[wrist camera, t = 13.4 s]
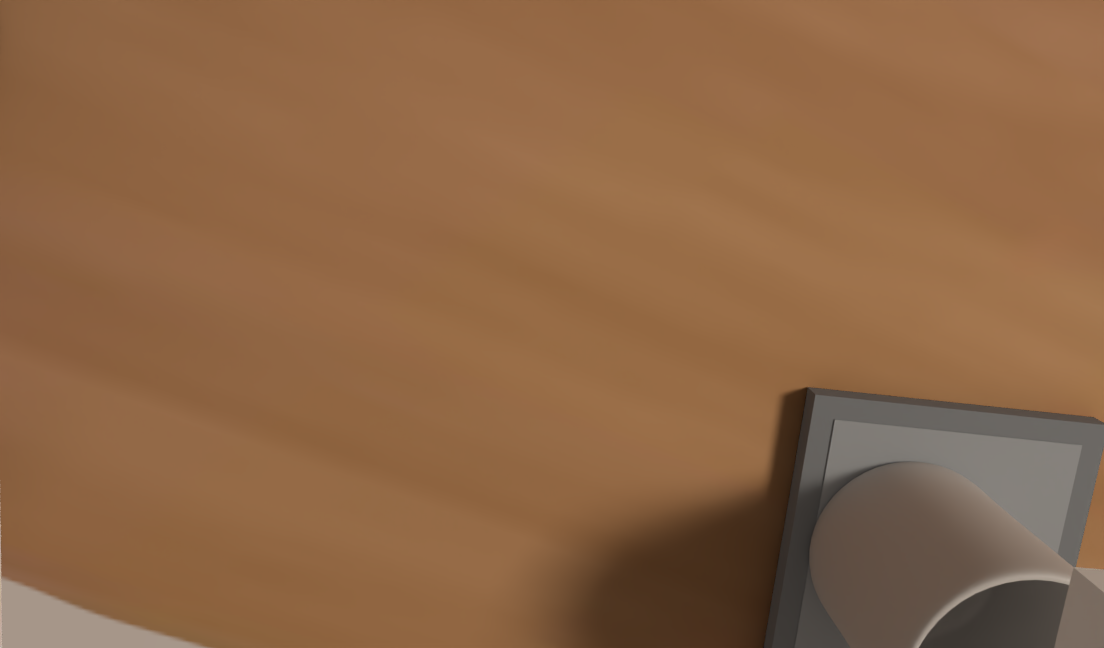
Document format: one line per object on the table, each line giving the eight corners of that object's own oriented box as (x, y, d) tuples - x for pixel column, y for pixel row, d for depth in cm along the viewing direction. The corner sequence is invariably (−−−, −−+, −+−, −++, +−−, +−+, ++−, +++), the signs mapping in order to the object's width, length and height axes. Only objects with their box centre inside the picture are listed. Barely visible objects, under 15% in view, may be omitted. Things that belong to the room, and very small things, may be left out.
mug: (789, 625, 45) (871, 784, 34) (828, 446, 44) (927, 554, 33) (1046, 658, 46) (1205, 824, 35) (1094, 483, 44) (1276, 601, 33)
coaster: (758, 674, 47) (765, 689, 46) (807, 387, 44) (815, 395, 43) (1028, 699, 48) (1041, 714, 46) (1093, 417, 45) (1109, 425, 44)
